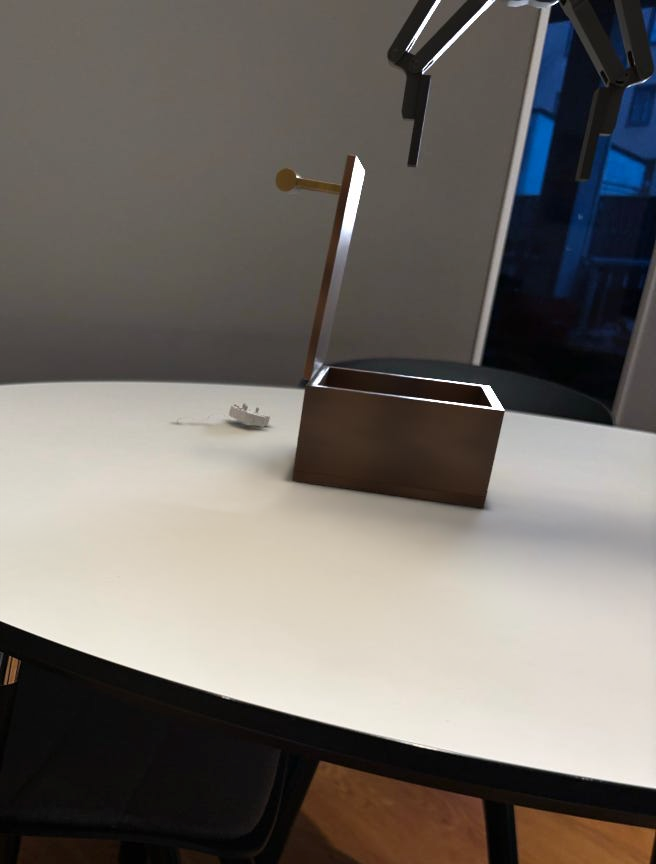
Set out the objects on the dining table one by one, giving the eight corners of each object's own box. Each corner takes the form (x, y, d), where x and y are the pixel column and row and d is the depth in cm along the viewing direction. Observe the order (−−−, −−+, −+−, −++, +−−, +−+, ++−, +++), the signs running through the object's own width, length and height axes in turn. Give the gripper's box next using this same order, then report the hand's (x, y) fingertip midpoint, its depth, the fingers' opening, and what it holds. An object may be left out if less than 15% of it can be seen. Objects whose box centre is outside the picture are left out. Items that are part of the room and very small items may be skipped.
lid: (365, 170, 102) (294, 159, 103) (356, 155, 86) (272, 142, 87) (325, 361, 110) (259, 349, 111) (310, 380, 93) (233, 366, 94)
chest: (472, 469, 110) (490, 386, 107) (483, 508, 94) (504, 410, 91) (308, 447, 113) (320, 364, 110) (291, 480, 97) (305, 385, 94)
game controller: (280, 429, 122) (283, 407, 121) (208, 434, 115) (210, 411, 114) (248, 419, 126) (250, 398, 125) (176, 423, 119) (178, 401, 118)
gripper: (384, -165, 74) (340, 156, 82) (750, -154, 70) (666, 183, 77) (387, -129, 81) (346, 163, 89) (720, -117, 76) (646, 189, 84)
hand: (495, 173), depth 83 cm, fingers open, 13 cm apart
